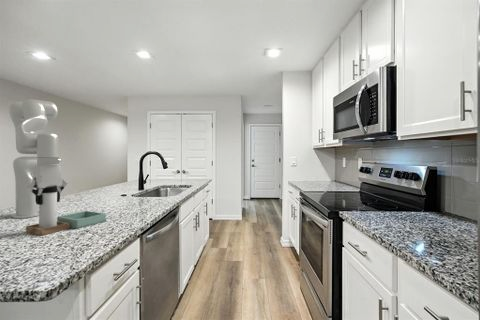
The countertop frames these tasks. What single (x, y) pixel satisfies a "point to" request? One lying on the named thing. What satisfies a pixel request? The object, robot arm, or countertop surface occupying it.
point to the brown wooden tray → (38, 231)
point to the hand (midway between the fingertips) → (48, 202)
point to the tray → (83, 219)
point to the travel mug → (48, 208)
